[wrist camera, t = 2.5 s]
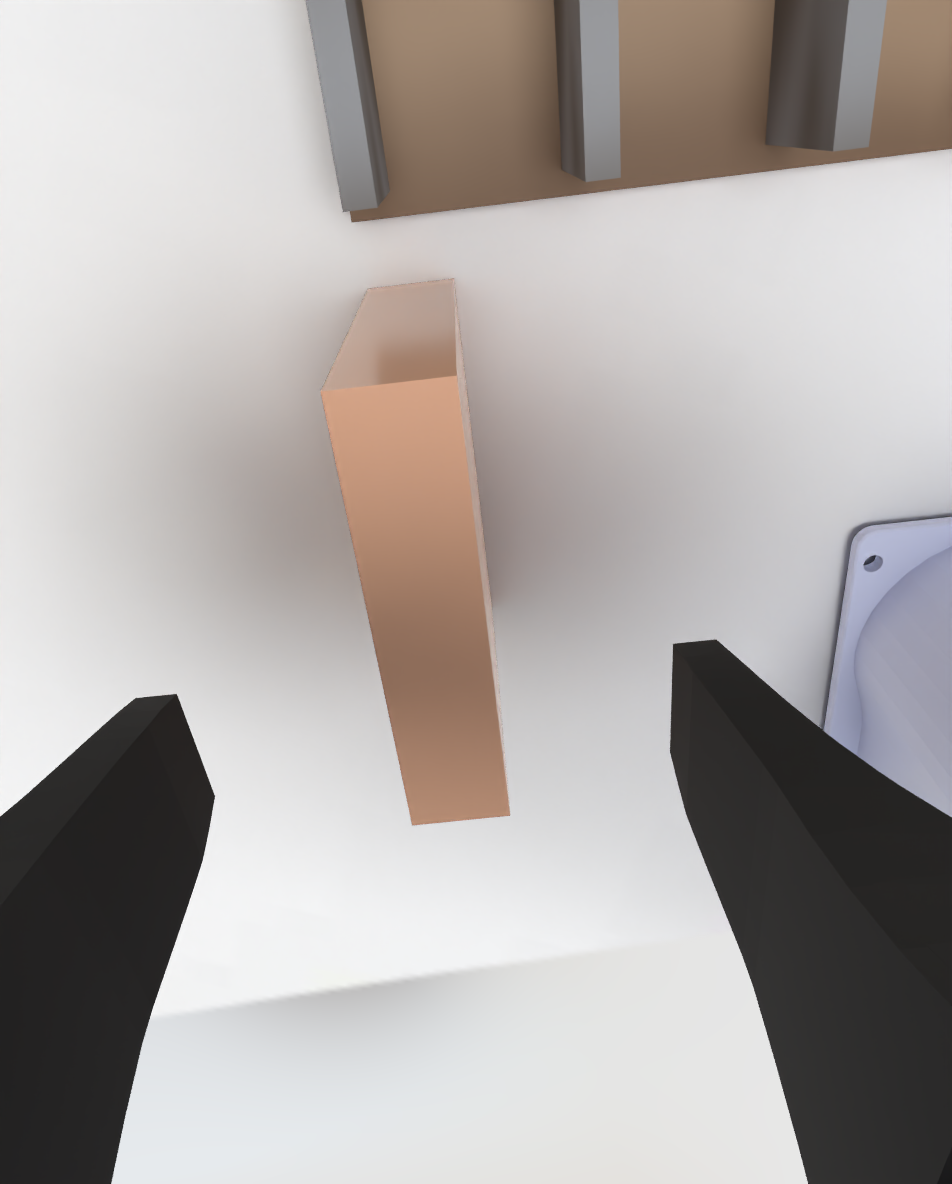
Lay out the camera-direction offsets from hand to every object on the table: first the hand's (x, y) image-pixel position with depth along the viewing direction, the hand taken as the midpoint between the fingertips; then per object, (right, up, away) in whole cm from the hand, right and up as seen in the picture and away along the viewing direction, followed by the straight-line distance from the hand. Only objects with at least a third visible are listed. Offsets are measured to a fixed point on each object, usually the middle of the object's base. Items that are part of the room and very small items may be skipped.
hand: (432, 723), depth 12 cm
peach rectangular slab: (0, +5, +9) cm, 11 cm away
